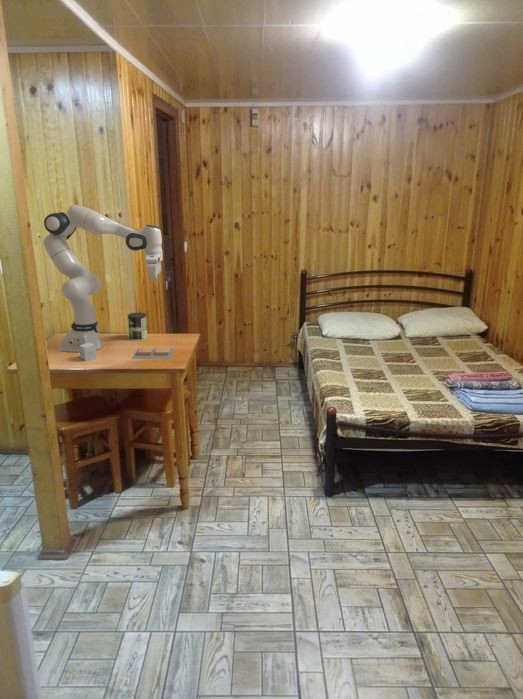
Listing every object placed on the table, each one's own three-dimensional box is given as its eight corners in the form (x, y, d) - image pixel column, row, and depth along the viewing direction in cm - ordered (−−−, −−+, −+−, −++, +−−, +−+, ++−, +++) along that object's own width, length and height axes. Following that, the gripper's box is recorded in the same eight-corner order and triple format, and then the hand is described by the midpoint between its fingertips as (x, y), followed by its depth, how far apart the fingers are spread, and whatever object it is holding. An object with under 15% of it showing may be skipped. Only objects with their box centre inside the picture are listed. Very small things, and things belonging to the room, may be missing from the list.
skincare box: (96, 358, 252) (95, 344, 250) (85, 361, 248) (83, 347, 246) (91, 355, 256) (89, 342, 254) (80, 358, 252) (78, 344, 250)
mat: (131, 359, 251) (131, 358, 251) (137, 349, 266) (137, 348, 266) (171, 359, 252) (171, 358, 252) (175, 349, 267) (175, 348, 267)
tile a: (140, 351, 263) (137, 355, 256) (140, 348, 262) (137, 352, 255) (153, 350, 263) (151, 355, 256) (153, 347, 262) (151, 352, 256)
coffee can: (133, 342, 278) (131, 318, 274) (126, 337, 286) (124, 314, 281) (150, 339, 284) (149, 315, 279) (143, 334, 292) (141, 311, 287)
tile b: (157, 350, 263) (155, 355, 256) (157, 347, 262) (154, 352, 256) (170, 350, 263) (168, 355, 257) (170, 347, 263) (168, 352, 256)
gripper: (151, 254, 266) (152, 279, 271) (144, 259, 247) (146, 287, 251) (163, 254, 267) (164, 279, 271) (157, 260, 247) (158, 287, 252)
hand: (155, 283), depth 261 cm, fingers closed
